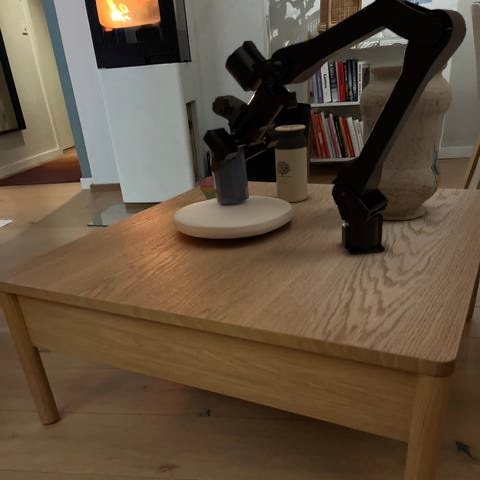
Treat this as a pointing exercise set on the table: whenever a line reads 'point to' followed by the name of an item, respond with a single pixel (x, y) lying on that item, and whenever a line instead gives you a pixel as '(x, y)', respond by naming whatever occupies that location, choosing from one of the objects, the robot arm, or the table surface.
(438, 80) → the vase
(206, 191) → the cupcake
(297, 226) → the table surface
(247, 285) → the table surface
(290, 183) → the travel mug
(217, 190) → the cup
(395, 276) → the table surface
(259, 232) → the plate
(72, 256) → the table surface
